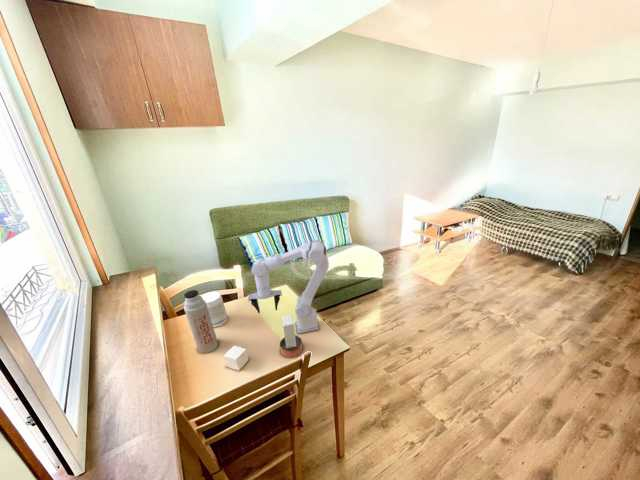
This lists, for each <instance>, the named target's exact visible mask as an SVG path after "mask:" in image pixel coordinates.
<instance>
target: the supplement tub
mask: <svg viewBox="0 0 640 480" xmlns="http://www.w3.org/2000/svg"><path fill="white" fill-rule="evenodd" d="M200 296H201V297H202V298H203V300H205V301H206V305H207V308H208V312H209V315H210V318H211V321H212V325H213V328H216V327H220V326H222V325H224V324H225V323H226V322H227V321H228V317H229V316H228V314H227V309H226V306H225V303H224V300H223V296H222V294H221V293H220V292H219V291H209V292H206V293H203V294H202V295H200Z"/></svg>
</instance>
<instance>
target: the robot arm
mask: <svg viewBox="0 0 640 480" xmlns="http://www.w3.org/2000/svg"><path fill="white" fill-rule="evenodd" d="M327 250H328V249H327V247H326V245H325V244H324V242H323V241H322V240H319V239H315V240H312V241H308V242H306V243H304V244H302V245H299V246H298V247H295V248H293V249H291V250H289V251H287V252H284V253H282V254H281V253H278V252H277V253H271V254H270V255H269V256H267V257H261V258H257V259H255V261H254V263H253V264H252V266H251V274H252V275H254V281H255V286H256V292H254V293H253V294H249V295H247V302H250V304H251V305H252V306H253V307H254V309H255V310H256V311H257V313H258V314H261V311H260V305H259V301H258V300H267V299H270V298H273V299H274V300H273V301H274V308H275V311H278V305H279V302H280V300H281V297H282V296H283V293H282V290H280V289H279V290H278V289H277V290H276V289H275V290H273V289H272V288H271V283H270V276H269V272H271V271H273V270H276V269H278V268H281V267H283V266H284V264H285V263H287V262H290V261H293V260H296V259H299V258H302V259H304V260H306V261H310V262H312V264H314V265H315V269H314V271H313V273H312V274H311V277H310V279H309V280H308V282H307V285H306V287H305V289H304V290H303V291H302V293H301V294H300V295H299V296H298V297H297V300H296V301H297V302H296V307H295V310H294V312H295V315H296V322H295V325H296V330H297V333H298V334H304V333H307V332H313V331H318V330H319V323H318V322H319V321H318V314H317V310H316V308H311V305H312V302H313V299H314V298H315V295H316V294H317V291H318V289H319V287H321V286H320V285H321V283H322V282H323V279H324V278H325V276H326V274H327V272H328V270H329V267H330V262H329V257H328V252H327Z"/></svg>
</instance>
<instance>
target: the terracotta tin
mask: <svg viewBox="0 0 640 480" xmlns="http://www.w3.org/2000/svg"><path fill="white" fill-rule="evenodd" d="M295 338H296V347H291V348H286V342H285V337H283V338H282V339H281V340H280V342H279V348H280V353H281V355H282V356H284V357H286V358H295V357H297V356H299V355H300V354H301V353H302V351H303V342H302V341H303V340H302V338H301V337H300V336H298V335H296V334H295Z"/></svg>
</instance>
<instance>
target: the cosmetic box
mask: <svg viewBox="0 0 640 480" xmlns="http://www.w3.org/2000/svg"><path fill="white" fill-rule="evenodd" d="M281 320H282V327H283V334H284V338H285V342H286V348H291V347H296V338H295V335H296V330H295V322H294V317H293V315H288V316H282V319H281Z"/></svg>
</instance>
